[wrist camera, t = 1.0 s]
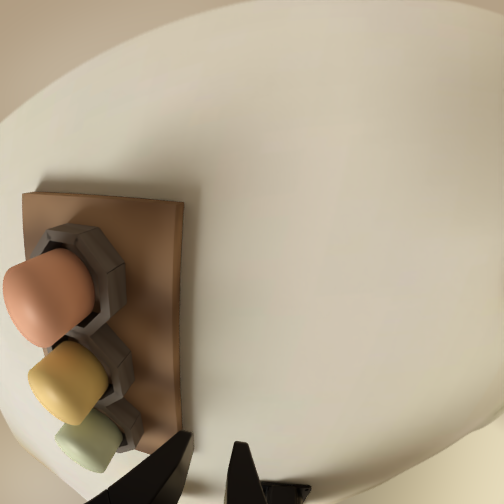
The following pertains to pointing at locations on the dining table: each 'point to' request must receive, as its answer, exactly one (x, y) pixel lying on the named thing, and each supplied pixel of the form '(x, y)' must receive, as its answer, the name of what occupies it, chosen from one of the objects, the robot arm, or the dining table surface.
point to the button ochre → (69, 382)
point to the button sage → (90, 441)
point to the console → (123, 301)
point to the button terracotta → (48, 295)
